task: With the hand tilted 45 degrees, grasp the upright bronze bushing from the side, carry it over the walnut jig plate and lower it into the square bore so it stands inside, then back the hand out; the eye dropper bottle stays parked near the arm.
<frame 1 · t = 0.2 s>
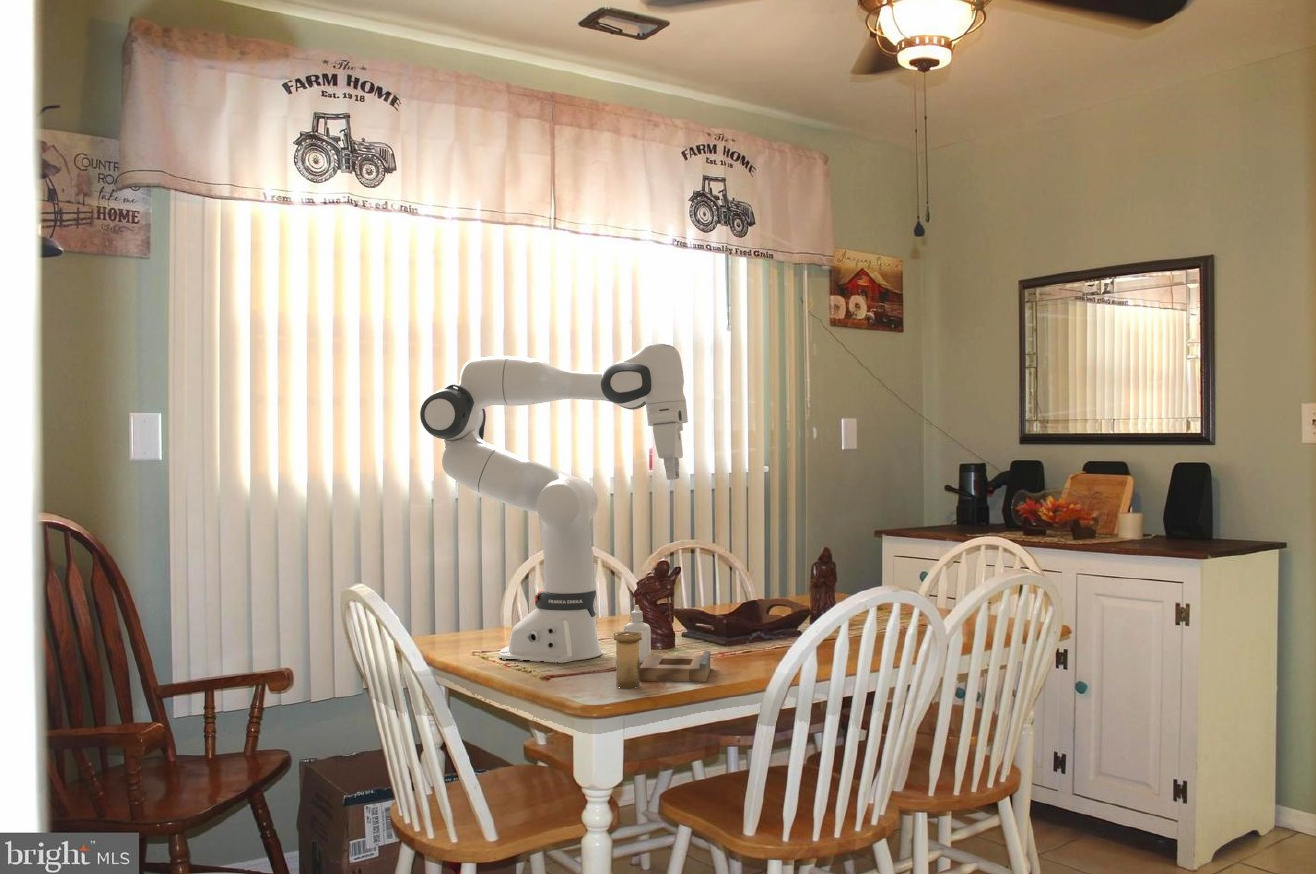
hand: (673, 479, 226), 39 cm above the table, tool pointing down, fingers open, 8 cm apart
eye dropper bottle: (637, 662, 220), on the table
jig: (675, 674, 207), on the table
bushing: (628, 686, 197), on the table
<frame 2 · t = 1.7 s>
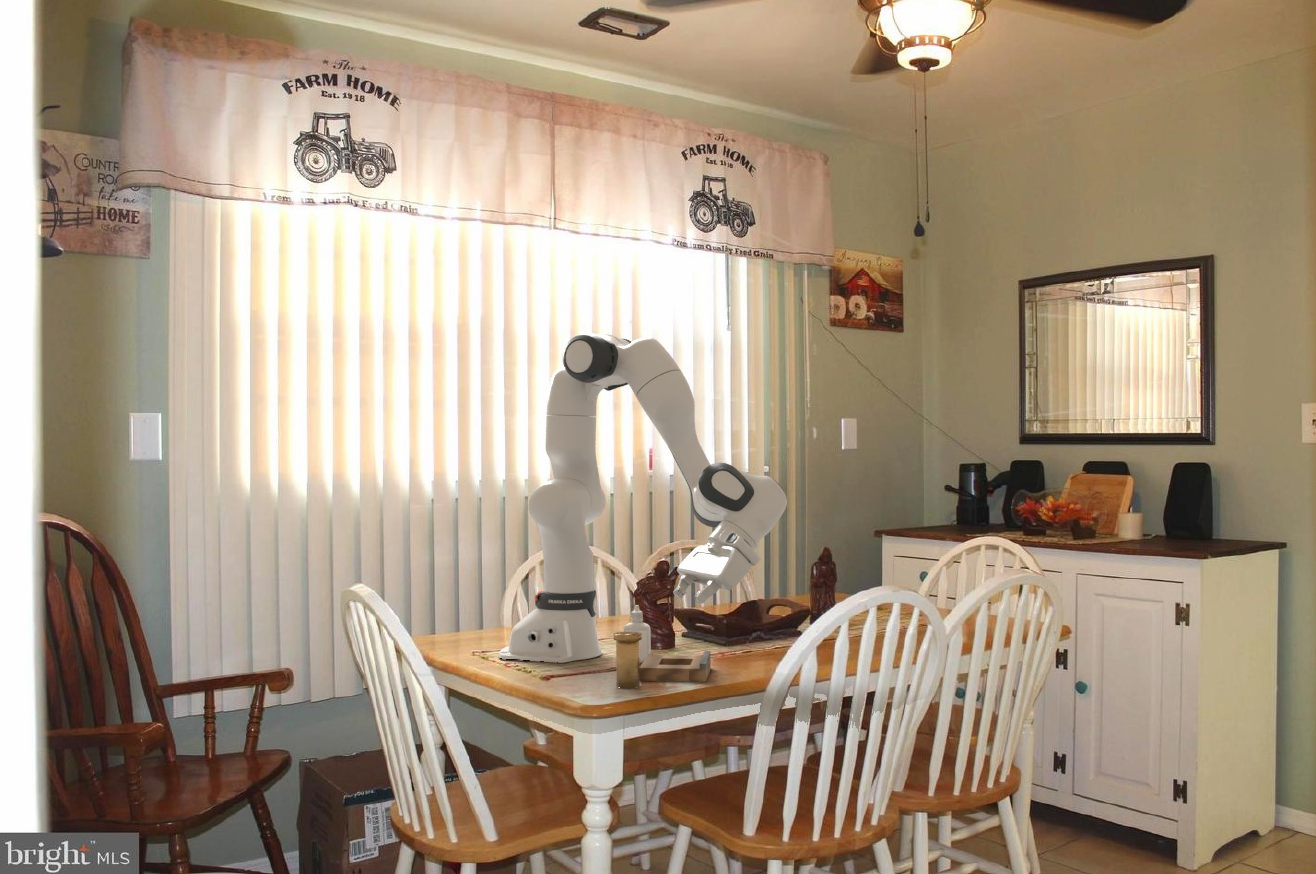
hand: (686, 598, 202), 16 cm above the table, tool tilted 45°, fingers open, 8 cm apart
nothing on the table moved.
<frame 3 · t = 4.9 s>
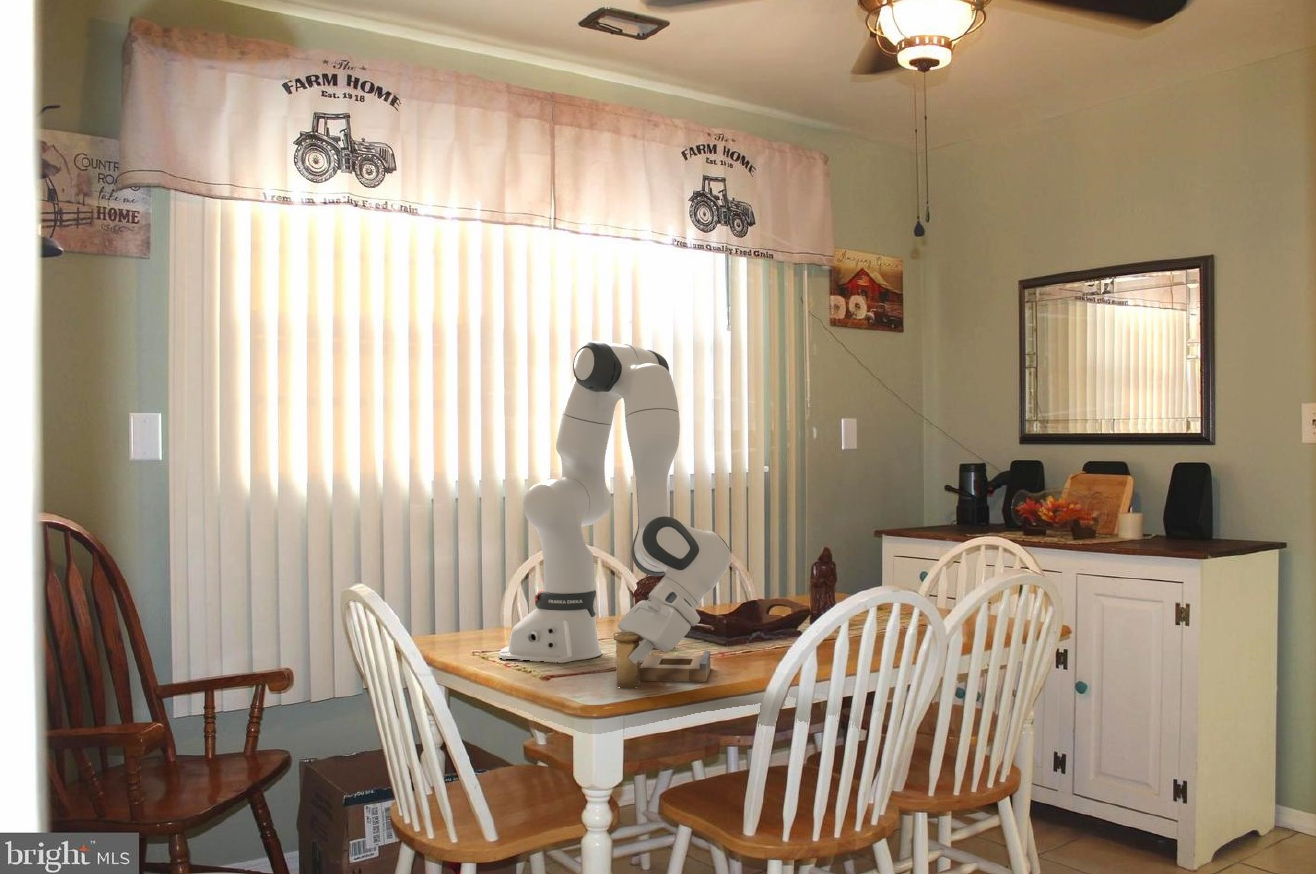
hand: (624, 658, 197), 5 cm above the table, tool tilted 45°, fingers closed on bushing, 4 cm apart
bushing: (628, 686, 197), on the table, touching gripper
everything else where it was.
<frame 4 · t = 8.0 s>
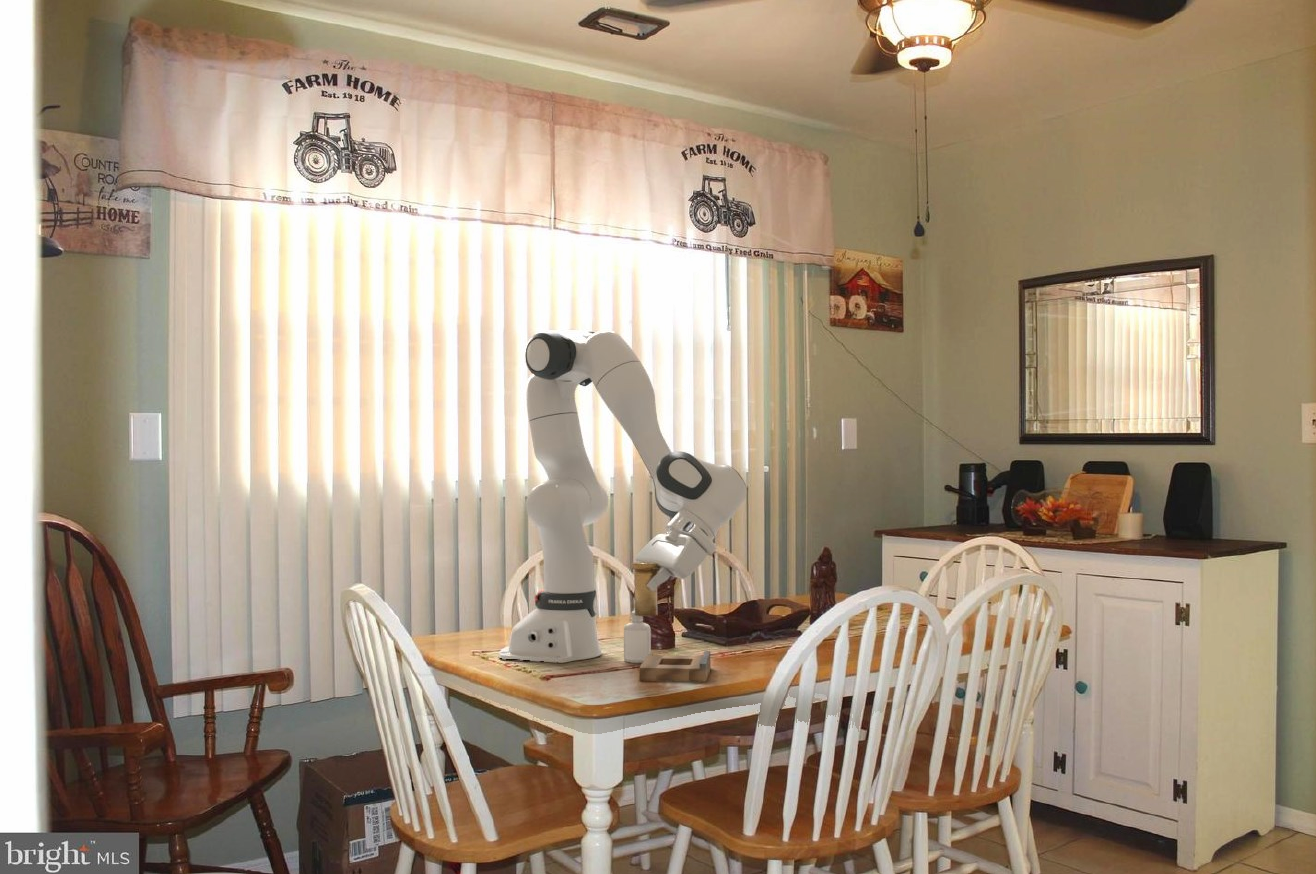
hand: (642, 587, 201), 18 cm above the table, tool tilted 45°, fingers closed on bushing, 4 cm apart
bushing: (646, 614, 201), point 13 cm above the table, touching gripper
everything else where it was.
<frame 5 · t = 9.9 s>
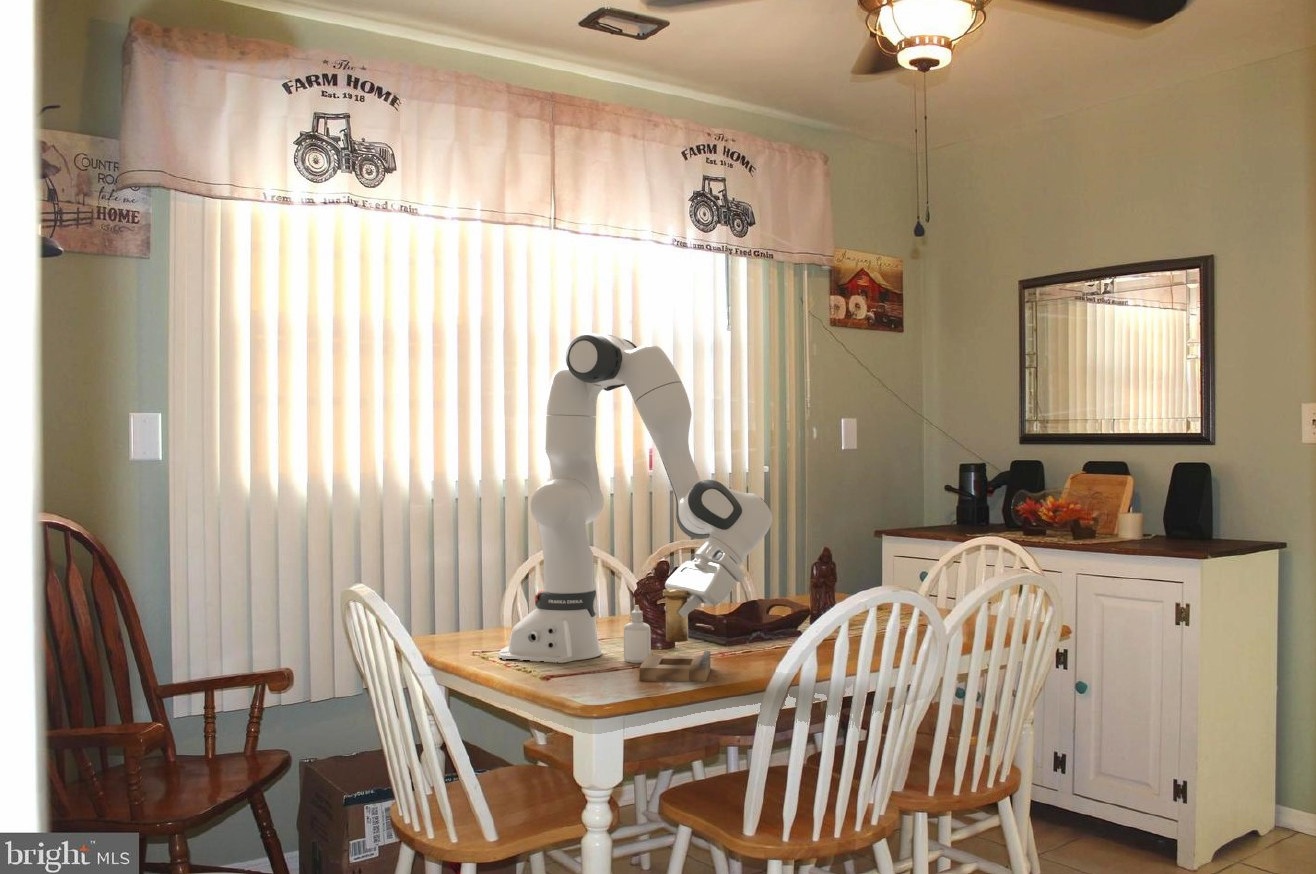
hand: (673, 613, 207), 12 cm above the table, tool tilted 45°, fingers closed on bushing, 4 cm apart
bushing: (677, 640, 207), point 7 cm above the table, touching gripper
everything else where it was.
when the fingers open (7 cm above the table, at t = 11.2 s): bushing drops 1 cm, resting in jig.
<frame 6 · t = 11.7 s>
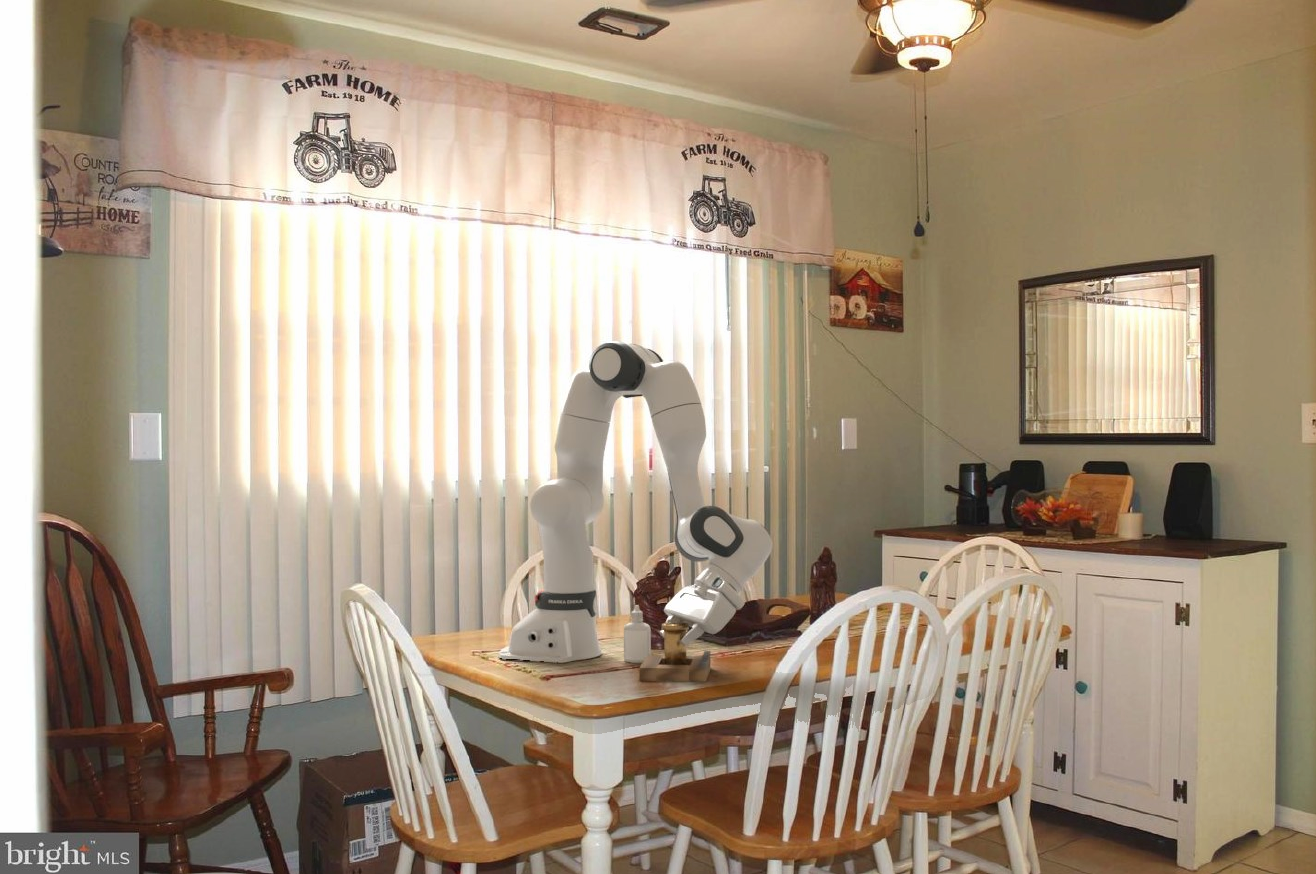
hand: (672, 640, 207), 7 cm above the table, tool tilted 45°, fingers open, 8 cm apart
bushing: (675, 674, 207), resting in jig
everything else where it was.
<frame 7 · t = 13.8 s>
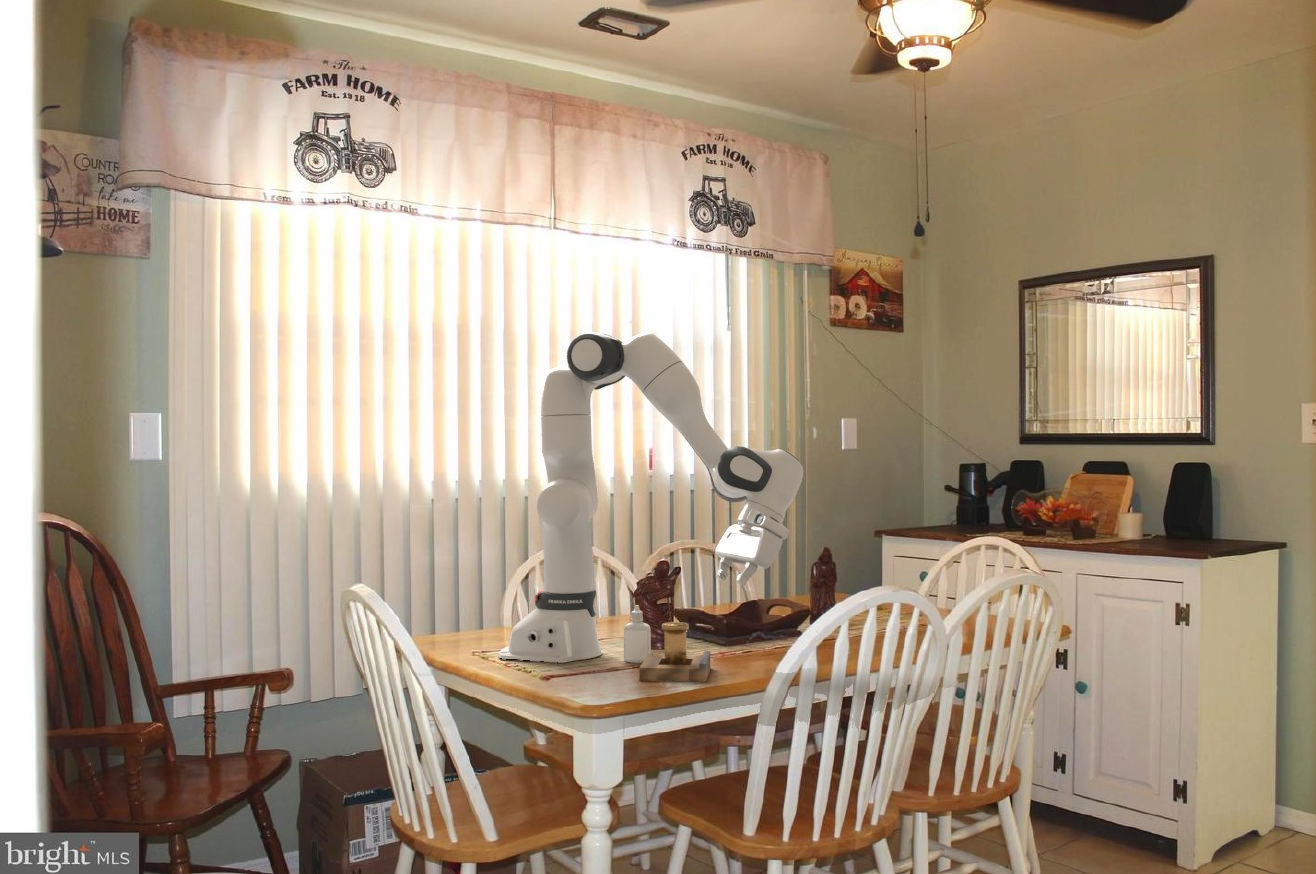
hand: (729, 581, 215), 18 cm above the table, tool tilted 30°, fingers open, 8 cm apart
nothing on the table moved.
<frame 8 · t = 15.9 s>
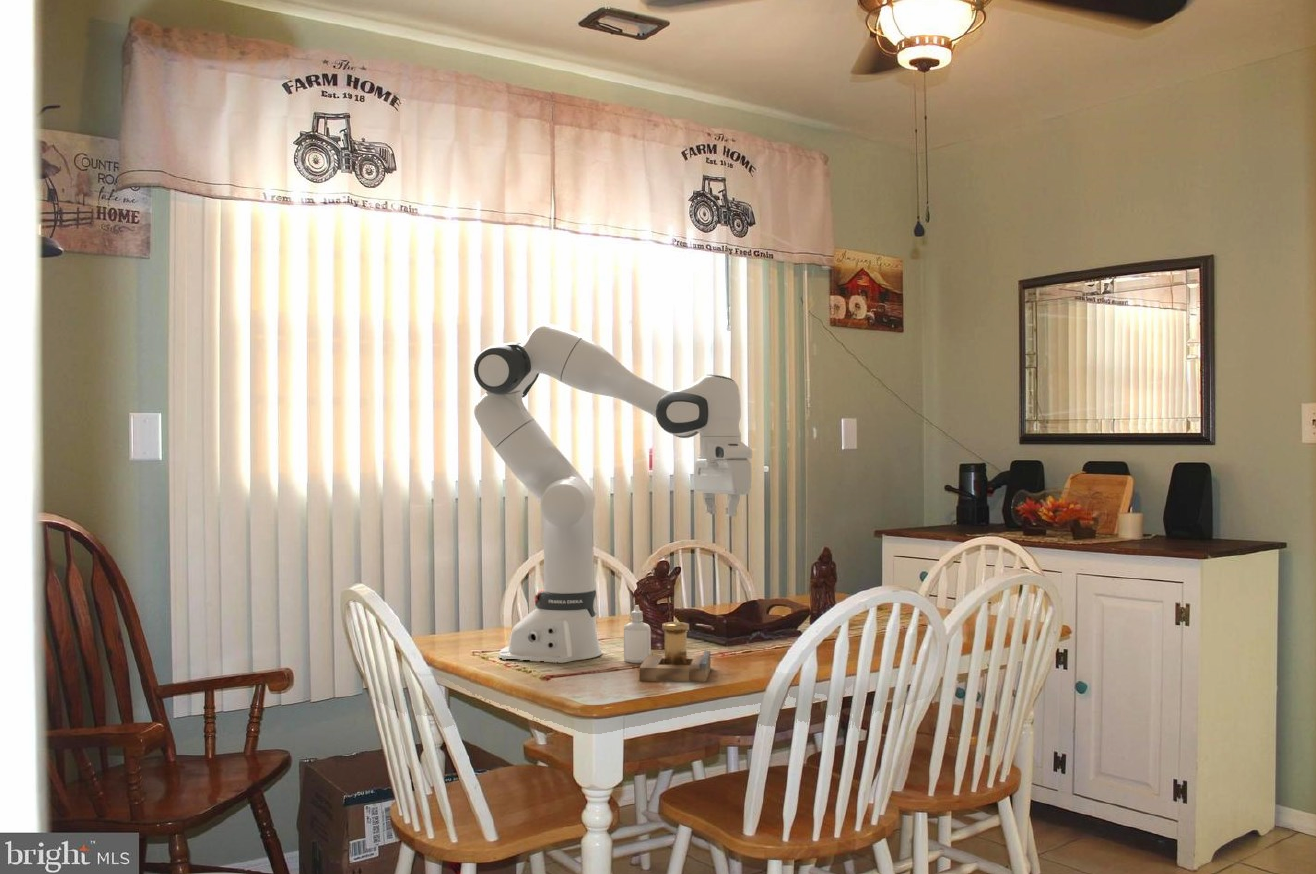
hand: (720, 515, 221), 31 cm above the table, tool pointing down, fingers open, 8 cm apart
nothing on the table moved.
at the end: bushing 0.1 cm off-centre on the jig, point 0.0 cm above the jig's base; bushing tilted 0°; the gripper is holding nothing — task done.
